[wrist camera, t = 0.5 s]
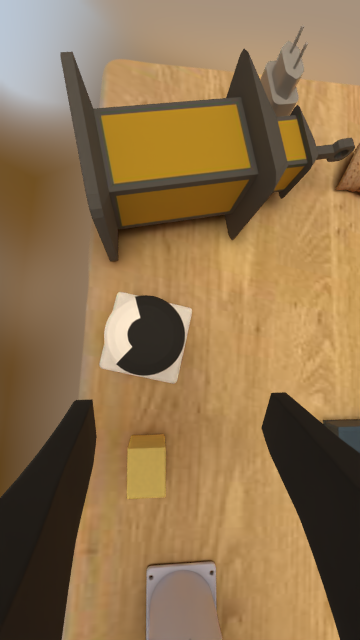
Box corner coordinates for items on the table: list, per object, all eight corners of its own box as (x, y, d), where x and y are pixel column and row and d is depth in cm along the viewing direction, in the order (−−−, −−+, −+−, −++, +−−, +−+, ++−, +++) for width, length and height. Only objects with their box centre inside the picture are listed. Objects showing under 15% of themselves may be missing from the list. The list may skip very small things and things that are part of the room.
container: (185, 316, 35) (202, 298, 22) (171, 376, 34) (182, 393, 21) (125, 302, 35) (108, 276, 22) (110, 363, 34) (83, 373, 21)
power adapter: (265, 112, 39) (314, 8, 27) (273, 147, 38) (325, 58, 27) (244, 114, 39) (284, 10, 27) (251, 149, 38) (295, 60, 26)
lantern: (111, 264, 35) (325, 230, 39) (89, 210, 21) (424, 167, 25) (91, 159, 36) (302, 138, 40) (57, 42, 22) (386, 27, 26)
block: (164, 477, 33) (165, 497, 29) (130, 478, 33) (126, 499, 28) (164, 434, 34) (165, 447, 29) (131, 435, 33) (127, 448, 29)
